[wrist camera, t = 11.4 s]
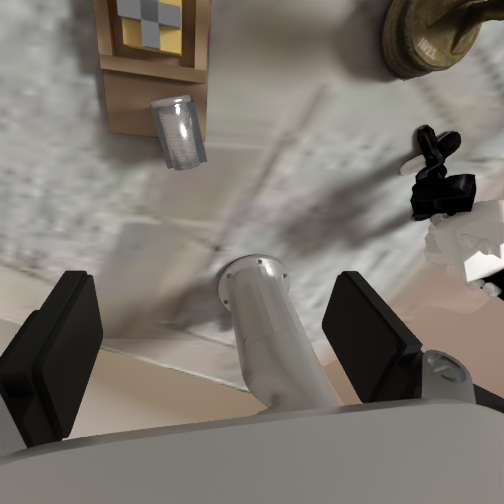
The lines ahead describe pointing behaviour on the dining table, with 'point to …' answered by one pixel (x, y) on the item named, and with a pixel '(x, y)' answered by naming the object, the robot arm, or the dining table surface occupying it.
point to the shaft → (178, 131)
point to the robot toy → (457, 216)
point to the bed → (151, 69)
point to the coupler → (152, 25)
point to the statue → (431, 33)
